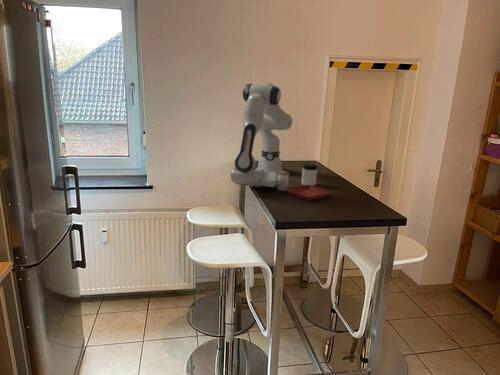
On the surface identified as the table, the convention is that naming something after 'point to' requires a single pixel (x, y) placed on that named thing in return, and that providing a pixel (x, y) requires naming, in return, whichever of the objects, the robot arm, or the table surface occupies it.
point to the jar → (309, 174)
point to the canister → (283, 176)
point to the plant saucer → (308, 192)
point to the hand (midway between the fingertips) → (284, 180)
